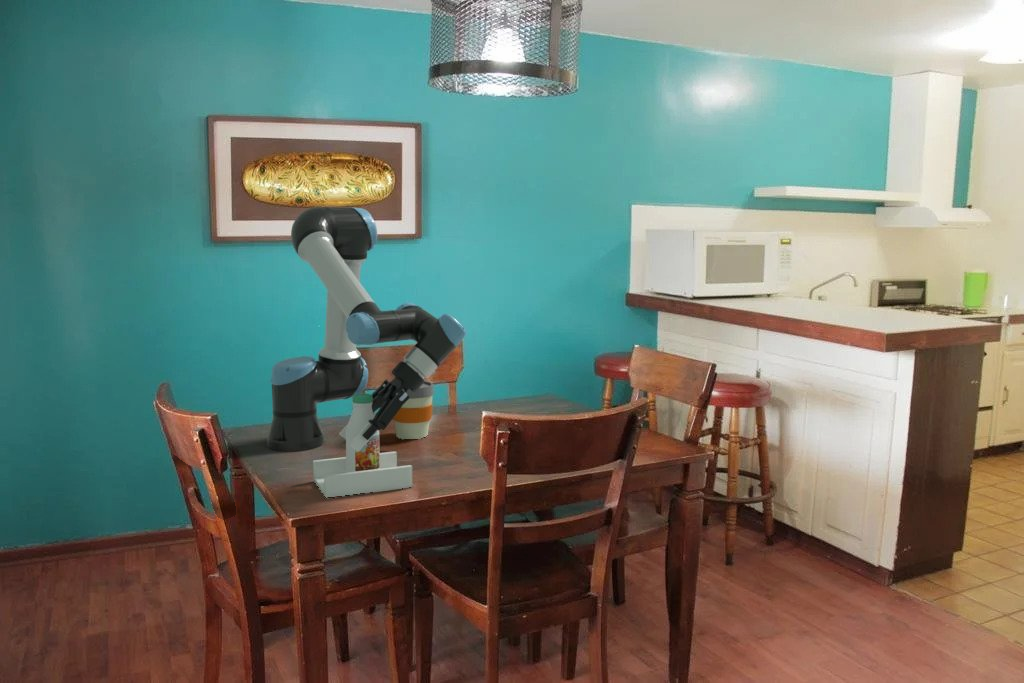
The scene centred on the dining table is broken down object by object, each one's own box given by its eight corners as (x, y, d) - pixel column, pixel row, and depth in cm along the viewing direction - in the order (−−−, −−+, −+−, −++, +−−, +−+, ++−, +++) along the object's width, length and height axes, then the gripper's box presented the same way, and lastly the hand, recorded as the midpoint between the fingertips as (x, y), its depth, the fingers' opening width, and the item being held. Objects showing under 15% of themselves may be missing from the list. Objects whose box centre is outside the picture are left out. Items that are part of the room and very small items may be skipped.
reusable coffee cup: (388, 441, 229) (388, 389, 226) (391, 430, 241) (390, 380, 239) (434, 441, 230) (433, 388, 228) (434, 429, 242) (433, 379, 240)
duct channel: (313, 481, 194) (313, 460, 193) (395, 471, 202) (395, 451, 202) (325, 498, 182) (325, 476, 181) (412, 487, 190) (412, 466, 190)
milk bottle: (342, 483, 189) (341, 397, 186) (350, 474, 196) (350, 391, 194) (375, 484, 188) (375, 398, 186) (382, 475, 196) (382, 392, 194)
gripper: (440, 389, 185) (372, 465, 181) (410, 372, 205) (348, 441, 201) (417, 367, 182) (347, 444, 178) (389, 352, 202) (326, 421, 198)
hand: (348, 442), depth 189 cm, fingers open, 9 cm apart
